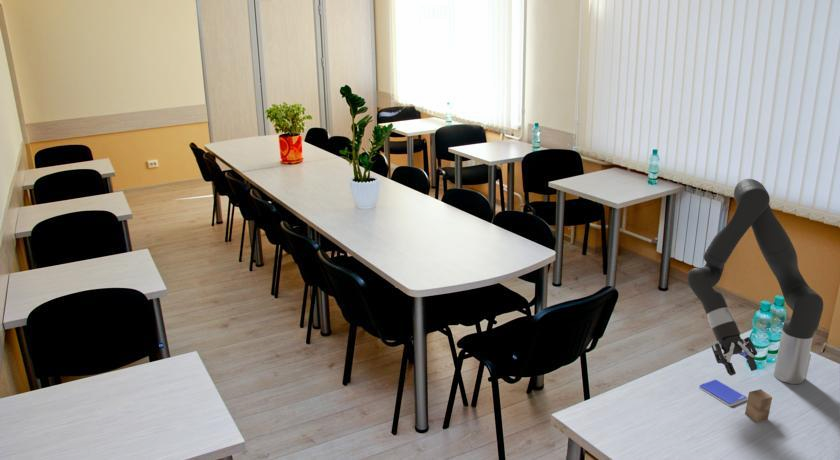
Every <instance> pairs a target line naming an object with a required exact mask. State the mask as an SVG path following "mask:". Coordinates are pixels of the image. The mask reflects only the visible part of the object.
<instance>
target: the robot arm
mask: <svg viewBox="0 0 840 460" xmlns="http://www.w3.org/2000/svg"><path fill="white" fill-rule="evenodd" d="M733 197H734V200H735V202H736V209H735V211H734V213H733V215H732V217H731V218H730V220H729V222H727V224H726V225H725V226H724V227H723V228H722V229H721V230H720V231H719V232H717V234H716V235H715V236H714V238H713V239H712V241H710V244H709V246H707V249H706V250H705V252H704V254H703V260H704V261H705V262H706V263H705V265H704V266H703V267H700V266H699V267H693V268H692V269H690V270H689V272H688V273H687V283H688V285H689V288H690V290H692V292H693V294H695V296H696V297H697V299H698V300H699V301H700V303H701V304H702V308H703V309H704V312H705V314H706V316H707V320H708V322H709V323H708V324H709V325H710V328H711V330H712V333H713V335H714V337H715V340H716V341H717V343H715V344H713V345H711V350H712V352H713V354H714V358H715V360H716V363H717V364H723V366H724V367H725V370H726V373H727V374H728V375H729V376H734V375H736V371H735V368H734V365H733V362H732V360H731V359H732V357H733V356H734V355H740V356H742V357H744V358H745V359H746V363H747V364H748V367H749V370H750V371H751V372H754V371H757V370H758V364H757V363H756V360H755V356H756V355H758V351H757V349H756V347H755V345H754V343H753V341H752V338H751V337H750V336H748V337H745V338H742V337H741V331H740V329H739V327H738V325H737V322H736V321H735V318H734V315H733V313H732V311H731V310H730V309H729V307H728V304H727V302H726V299H725V297H724V296H723V294H722V292H719V291H716V290H715V289H714V288H713V287H715V286H717V284H718V283H719V281H720V280H721V277H722V275H723V271H724V269H725V265H726V263H727V261H728V259H729V258H730V256H731V255H732V254H733V252H734V250H735V248H736V247H737V245H738V244H739V242H740V240H741V239H742V238H743V237H744V235H745V234H746V233H747V231H748V230H749V229H750V228H751V229H752V232H753V235H754V238H755V240H756V243H757V245H758V248H759V250H760V252H761V254H762V256H763V258H764V260H765V261H766V263H767V265H768V267H769V268H770V270H771V272H772V274H773V275H774V277H775V278H776V280H777V282H778V284H779V288H780V289H781V293H782V296H783V299H784V302H785V303H786V305H787V307H788V308H790V310H792V314H791V317H790V319H787V320H785V321H784V322H783V325H782V331H781V335H780V340H779V346H778V351H777V356H776V360H775V365H774V371H773V376H774V377H775V378H776V379H778V380H779V381H781V382H784V383H787V384H791V385H800V384H802V383H804V382H805V381H804V380H806V379H807V376H808V371H809V367H810V361H811V356H812V354H811V348H812V344H813V340H814V336H815V335H814V334H815V333H816V332H817V329H818V327H819V324H820V322H821V317H822V315H823V311H824V300H823V297H822V296H821V295H820V294H818V293H817V292H816V291H815V290H814V289H812V288H811V287H810V285H809V284H808V283H807V282H806V280H805V279H804V277H803V275H802V273H801V271H800V269H799V266H798V255H797V251H796V249H795V247H794V244H793V242H792V241H791V238H790V237H789V234H788V233H787V232H786V230H785V228H784V227H783V225H782V224H781V223H780V221H779V219H778V218H777V217H776V216H775V214H774V212H773V210H772V208H771V205H770V202H771V201H770V200H771V198H770V194H769V192H768V190H767V189H766V187H765V185H763V183H761V182H759V181H758V180H756V179H753V178H746V179H745V178H744V179H742V180H740V181H739V182H738V183H737V184H736V186H735V187H734V190H733Z"/></svg>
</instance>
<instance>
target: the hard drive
mask: <svg viewBox="0 0 840 460" xmlns="http://www.w3.org/2000/svg"><path fill="white" fill-rule="evenodd" d="M698 388H699V389H700V390H702V391H704V392H705V393H707V394H708V395H710V396H712V397H714V398H715V399H716V400H719V401H720V402H722V403H723V404H725V405H727V406H728V407H732V406H735V405H738V404H741V403H743V402H746V401H747V400H748V396H745V395H744V394H742V393H741V392H739V391H737V390H735V389H733V388H732V387H730V386H729V385H727V384H725V383H723V382H722V381H719V380H717V379H713V380H710V381H707V382H705V383H702V384H699V386H698Z"/></svg>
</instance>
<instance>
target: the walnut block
mask: <svg viewBox="0 0 840 460" xmlns="http://www.w3.org/2000/svg"><path fill="white" fill-rule="evenodd" d="M747 398H748V399H747V400H746V401H747V402H746V406H745V411H744V415H746V416H747V417H748V418H749V419H751V420H753V421H754V422H755V423H759V422H762V421H766V420H769V416H770V411H771V407H772V400H773V396H771V395H770V394H769V393H767V392H766V391H764V390H762V388H761V389H757V390H752V391H748V396H747Z"/></svg>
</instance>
